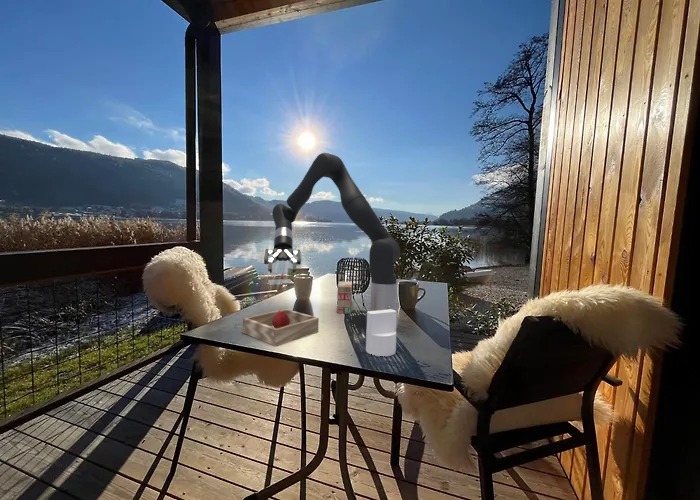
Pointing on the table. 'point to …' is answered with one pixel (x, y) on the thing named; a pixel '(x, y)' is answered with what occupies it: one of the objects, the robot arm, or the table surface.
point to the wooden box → (277, 336)
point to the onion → (280, 319)
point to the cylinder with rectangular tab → (381, 332)
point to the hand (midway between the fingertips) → (282, 271)
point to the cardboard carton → (344, 297)
